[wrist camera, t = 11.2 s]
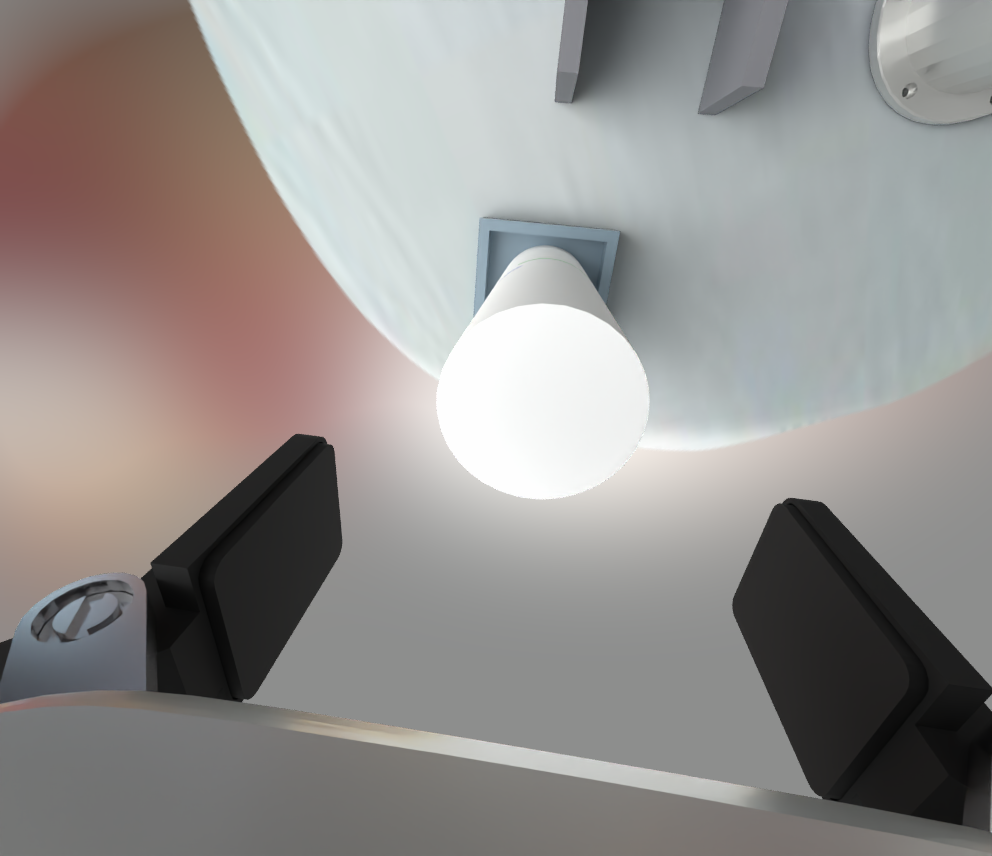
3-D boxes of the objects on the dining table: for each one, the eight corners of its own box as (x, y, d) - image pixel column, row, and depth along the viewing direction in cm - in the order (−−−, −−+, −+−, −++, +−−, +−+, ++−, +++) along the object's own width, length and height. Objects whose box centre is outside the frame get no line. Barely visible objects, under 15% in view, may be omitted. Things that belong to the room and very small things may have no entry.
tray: (615, 230, 36) (620, 231, 34) (591, 358, 41) (594, 366, 38) (483, 217, 36) (479, 217, 34) (475, 345, 41) (471, 352, 39)
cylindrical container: (484, 279, 38) (394, 382, 15) (557, 225, 35) (577, 254, 13) (531, 349, 40) (512, 528, 18) (603, 302, 38) (687, 440, 15)
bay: (755, -46, 28) (825, -132, 21) (715, 114, 32) (763, 87, 25) (573, -58, 29) (582, -146, 22) (554, 101, 33) (557, 71, 25)
